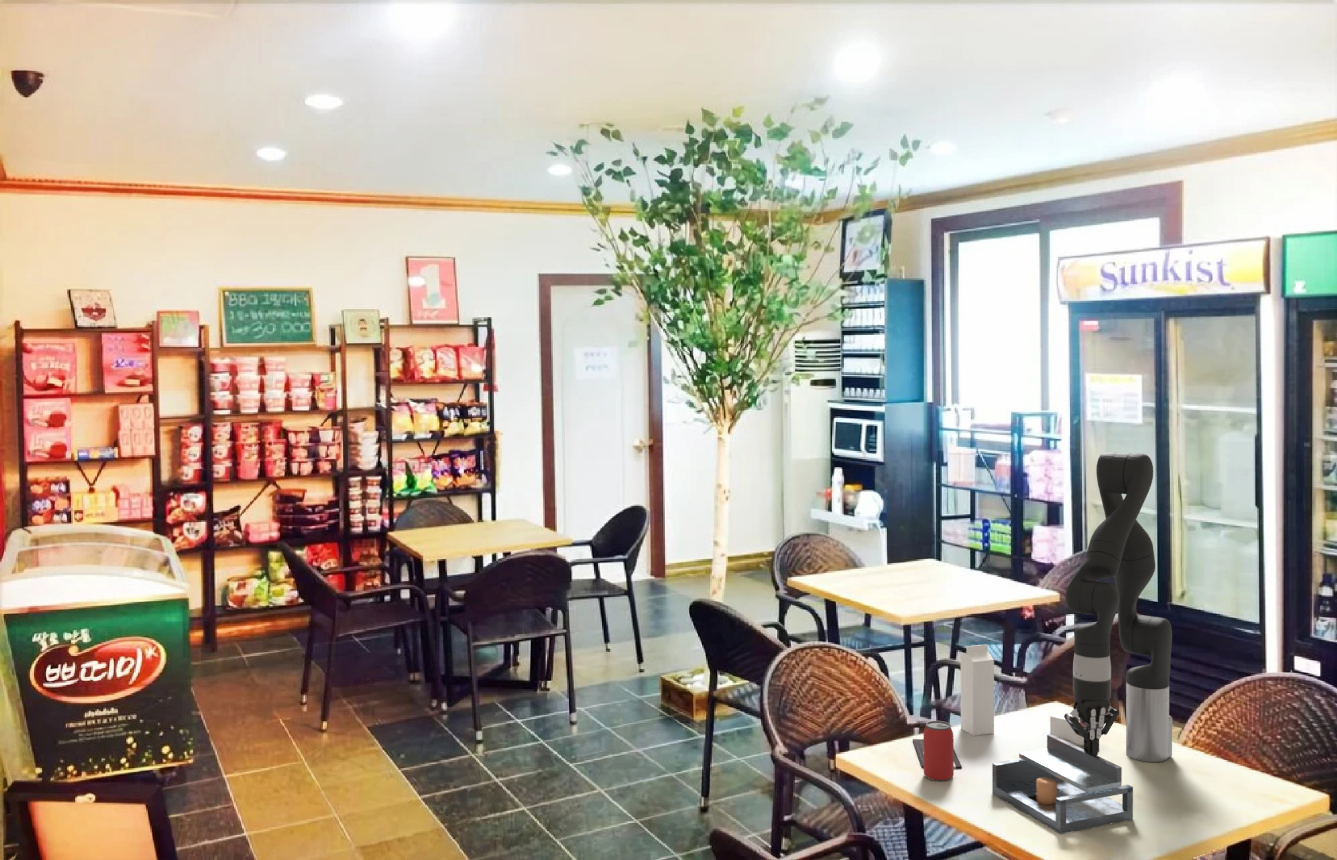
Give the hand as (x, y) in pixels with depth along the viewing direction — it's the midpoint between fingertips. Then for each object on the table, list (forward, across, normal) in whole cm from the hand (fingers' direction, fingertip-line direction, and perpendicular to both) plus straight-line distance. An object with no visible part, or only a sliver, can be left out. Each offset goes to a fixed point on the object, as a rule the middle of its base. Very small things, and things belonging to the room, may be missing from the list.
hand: (1091, 755), depth 235 cm
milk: (+10, +4, +46) cm, 47 cm away
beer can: (+10, -22, +24) cm, 34 cm away
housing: (+10, -8, 0) cm, 13 cm away
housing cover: (+3, -6, 0) cm, 6 cm away
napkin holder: (+11, +21, +31) cm, 39 cm away
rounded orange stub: (+10, -11, 0) cm, 15 cm away
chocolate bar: (+11, -14, +36) cm, 40 cm away
